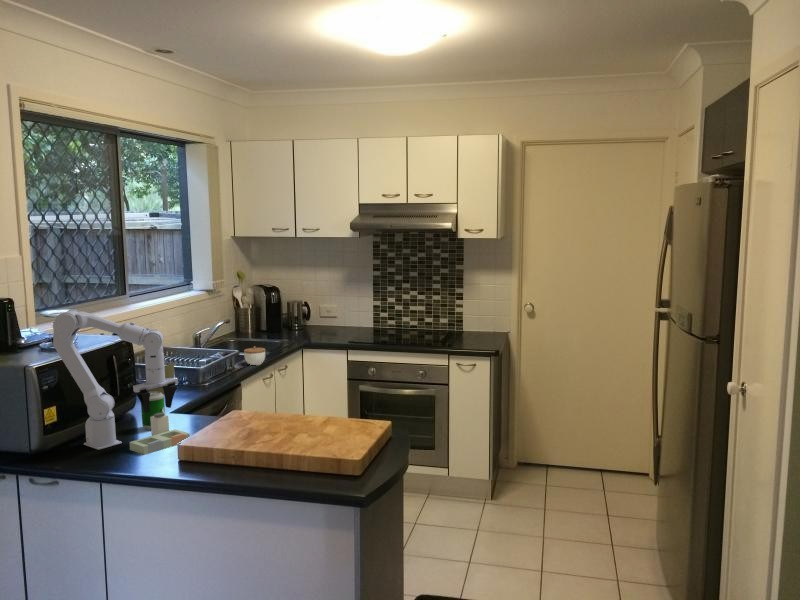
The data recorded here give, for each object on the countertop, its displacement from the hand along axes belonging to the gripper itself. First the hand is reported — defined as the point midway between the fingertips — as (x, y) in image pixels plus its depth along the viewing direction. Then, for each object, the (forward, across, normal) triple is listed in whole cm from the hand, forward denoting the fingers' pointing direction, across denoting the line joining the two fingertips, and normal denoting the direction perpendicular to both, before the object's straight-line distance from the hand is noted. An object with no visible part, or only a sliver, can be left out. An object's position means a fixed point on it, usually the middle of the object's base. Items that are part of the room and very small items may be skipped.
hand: (157, 409), depth 215 cm
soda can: (+10, +7, +15) cm, 19 cm away
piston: (+10, +38, +62) cm, 74 cm away
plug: (+10, +2, +3) cm, 11 cm away
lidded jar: (+10, +98, +76) cm, 125 cm away
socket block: (+10, -3, -6) cm, 12 cm away
